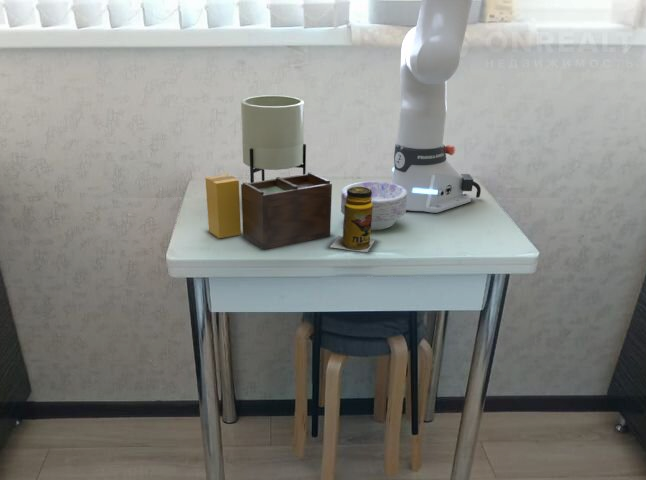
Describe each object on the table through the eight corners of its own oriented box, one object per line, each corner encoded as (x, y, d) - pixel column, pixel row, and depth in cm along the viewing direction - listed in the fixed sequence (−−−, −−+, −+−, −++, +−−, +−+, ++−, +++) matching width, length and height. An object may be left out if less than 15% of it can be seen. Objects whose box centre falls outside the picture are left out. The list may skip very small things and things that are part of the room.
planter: (300, 209, 174) (301, 108, 160) (238, 205, 176) (234, 105, 162) (309, 191, 186) (311, 96, 172) (251, 188, 188) (248, 93, 174)
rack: (307, 223, 165) (308, 171, 158) (330, 236, 159) (332, 181, 152) (242, 236, 158) (240, 181, 151) (263, 249, 151) (262, 193, 144)
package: (230, 227, 163) (227, 173, 156) (241, 234, 159) (239, 179, 152) (208, 231, 160) (204, 177, 153) (219, 238, 157) (215, 183, 150)
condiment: (367, 252, 150) (371, 195, 143) (329, 248, 152) (331, 191, 145) (374, 241, 156) (378, 186, 149) (338, 237, 158) (340, 182, 151)
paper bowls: (333, 231, 161) (335, 196, 156) (347, 211, 173) (349, 178, 168) (399, 238, 158) (402, 202, 153) (408, 217, 170) (411, 183, 165)
